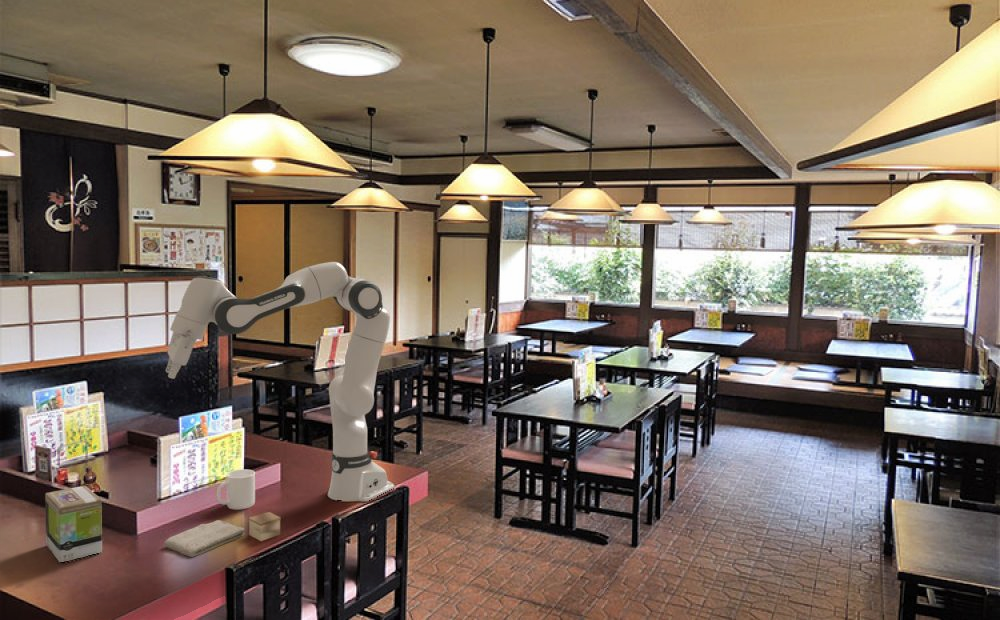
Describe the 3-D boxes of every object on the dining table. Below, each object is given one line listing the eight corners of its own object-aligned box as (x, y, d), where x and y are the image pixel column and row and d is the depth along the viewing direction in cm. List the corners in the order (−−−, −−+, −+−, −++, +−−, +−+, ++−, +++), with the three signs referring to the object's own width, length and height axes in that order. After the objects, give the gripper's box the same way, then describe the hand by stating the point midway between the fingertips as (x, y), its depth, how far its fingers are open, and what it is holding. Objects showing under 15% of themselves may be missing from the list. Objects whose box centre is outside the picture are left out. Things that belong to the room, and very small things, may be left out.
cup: (260, 504, 214) (260, 473, 213) (224, 515, 205) (223, 483, 204) (246, 498, 220) (245, 467, 219) (210, 508, 210) (209, 476, 209)
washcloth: (247, 535, 193) (247, 525, 192) (192, 560, 177) (192, 549, 177) (219, 526, 198) (219, 516, 198) (163, 549, 183) (163, 538, 182)
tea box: (104, 553, 179) (102, 498, 177) (59, 565, 172) (57, 508, 170) (87, 535, 189) (86, 483, 188) (45, 545, 182) (43, 492, 181)
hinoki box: (268, 528, 197) (268, 511, 196) (280, 534, 193) (280, 517, 193) (248, 535, 192) (248, 517, 192) (260, 541, 188) (260, 524, 188)
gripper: (203, 336, 186) (184, 384, 185) (195, 329, 204) (178, 373, 203) (179, 329, 183) (160, 377, 182) (173, 322, 201) (155, 366, 200)
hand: (169, 375), depth 192 cm, fingers open, 8 cm apart
